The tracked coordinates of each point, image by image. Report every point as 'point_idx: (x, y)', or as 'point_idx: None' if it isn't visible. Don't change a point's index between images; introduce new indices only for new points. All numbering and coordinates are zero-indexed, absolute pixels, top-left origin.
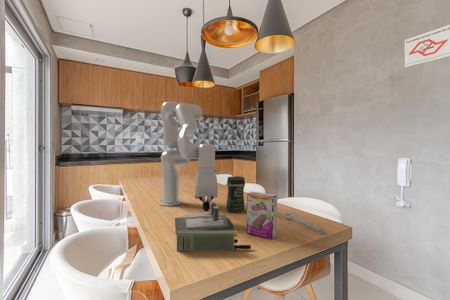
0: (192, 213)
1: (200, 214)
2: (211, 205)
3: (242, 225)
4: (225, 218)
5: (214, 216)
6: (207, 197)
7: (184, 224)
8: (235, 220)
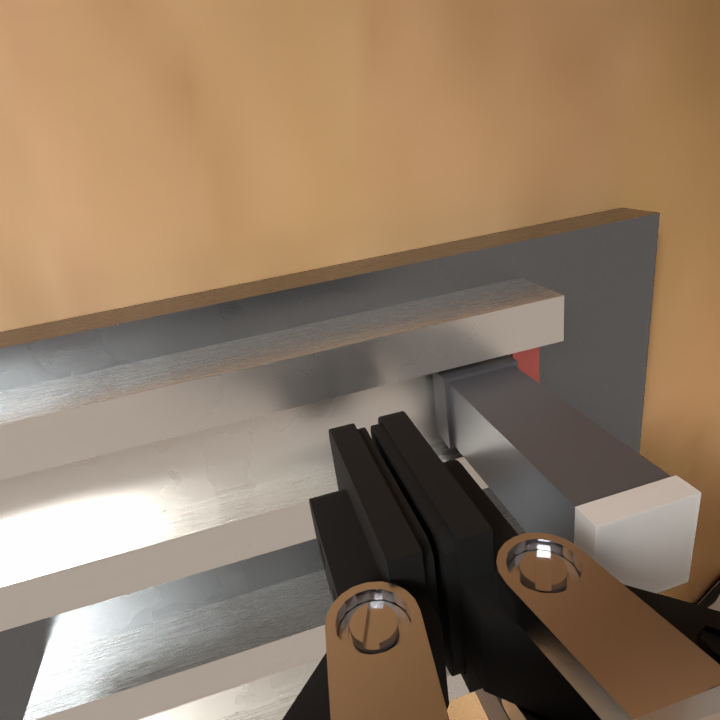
0: (59, 429)
1: (243, 410)
2: (536, 498)
3: (709, 472)
4: (610, 393)
5: (485, 709)
6: (572, 672)
7: (25, 672)
8: (705, 324)
